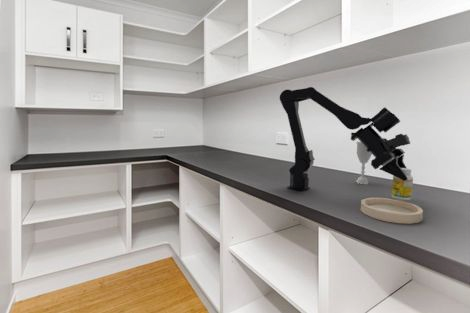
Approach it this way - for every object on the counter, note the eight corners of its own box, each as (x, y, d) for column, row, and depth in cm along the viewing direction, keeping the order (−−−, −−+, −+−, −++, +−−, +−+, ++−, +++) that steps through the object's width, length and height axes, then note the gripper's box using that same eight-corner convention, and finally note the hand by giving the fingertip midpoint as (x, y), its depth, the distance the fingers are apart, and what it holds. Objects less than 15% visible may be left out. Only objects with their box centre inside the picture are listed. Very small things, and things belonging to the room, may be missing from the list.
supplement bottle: (414, 200, 78) (418, 170, 77) (397, 200, 78) (400, 170, 77) (403, 195, 84) (406, 167, 82) (387, 195, 84) (390, 167, 82)
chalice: (374, 184, 107) (377, 142, 104) (359, 184, 106) (362, 142, 104) (364, 180, 114) (367, 141, 111) (350, 181, 113) (352, 141, 111)
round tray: (351, 212, 73) (352, 204, 73) (372, 202, 83) (373, 195, 82) (411, 228, 62) (412, 219, 61) (428, 214, 71) (429, 206, 71)
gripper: (386, 125, 74) (428, 166, 68) (400, 125, 87) (436, 160, 81) (356, 149, 81) (392, 189, 74) (373, 146, 94) (405, 179, 88)
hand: (408, 178), depth 79 cm, fingers closed on supplement bottle, 5 cm apart
